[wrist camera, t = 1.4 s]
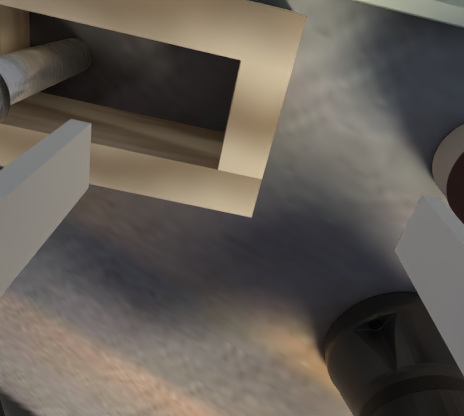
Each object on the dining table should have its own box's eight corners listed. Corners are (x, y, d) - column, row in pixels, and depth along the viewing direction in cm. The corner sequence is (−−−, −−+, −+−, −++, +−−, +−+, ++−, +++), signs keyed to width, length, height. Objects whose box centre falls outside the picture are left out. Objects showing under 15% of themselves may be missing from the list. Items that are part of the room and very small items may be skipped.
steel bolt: (97, 83, 32) (1, 140, 19) (52, 73, 32) (-74, 124, 19) (100, 35, 30) (-4, 64, 18) (52, 24, 30) (-87, 46, 18)
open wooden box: (251, 172, 35) (251, 217, 28) (-4, 117, 33) (-72, 150, 26) (292, 10, 29) (306, 16, 22) (-17, -65, 27) (-109, -85, 20)
